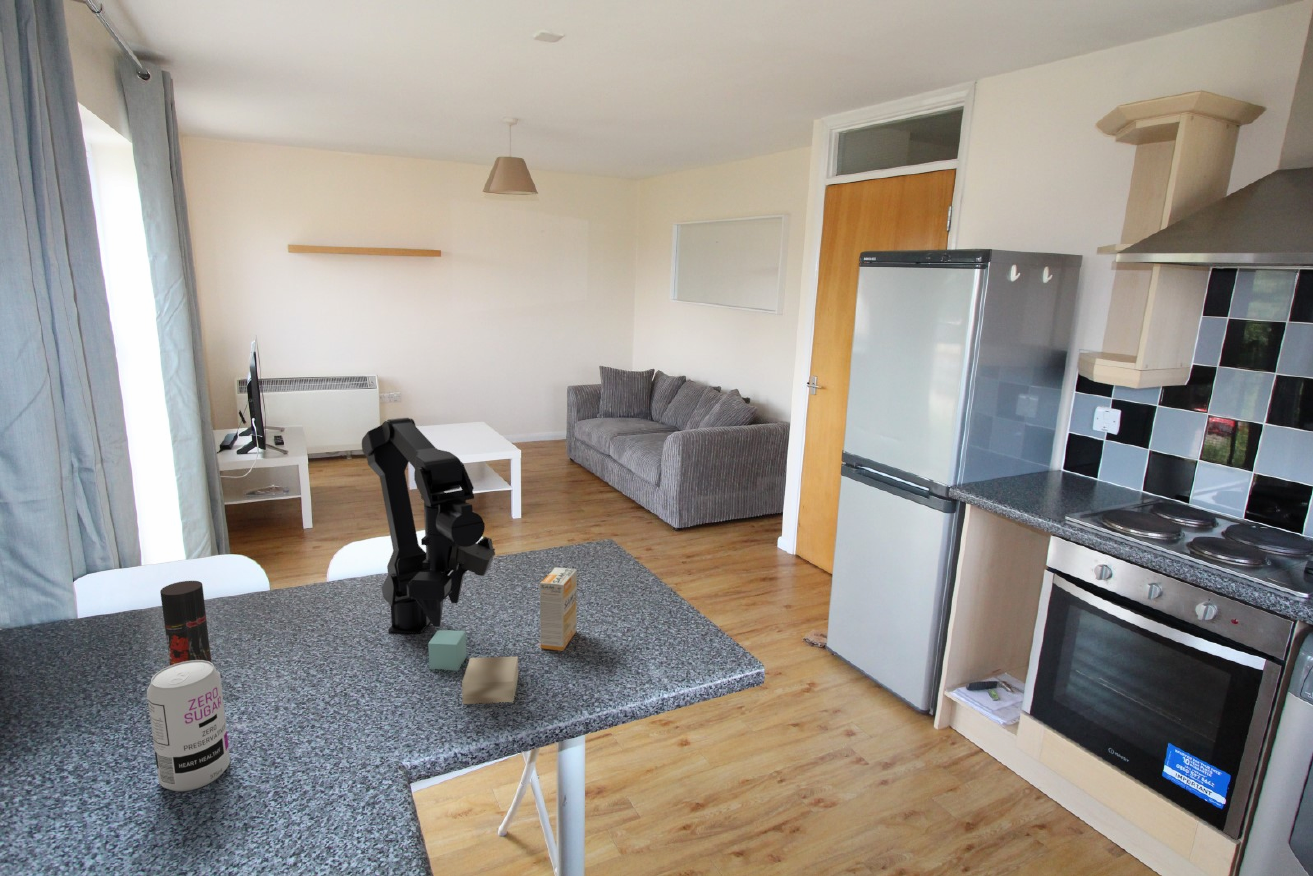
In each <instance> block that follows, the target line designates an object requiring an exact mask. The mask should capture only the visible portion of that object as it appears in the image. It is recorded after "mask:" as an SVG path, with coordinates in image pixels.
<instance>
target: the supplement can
mask: <svg viewBox="0 0 1313 876" xmlns="http://www.w3.org/2000/svg"><path fill="white" fill-rule="evenodd" d="M211 662H212V661H211ZM211 662H209V661H204V660H192V661H186V662H181V663H177V664H174V665H171V666H170V665H168V666H166V667H165V668H162V669H160V670H159V671H157V672H156V673H154V674H153V676H152V678H151V679H150V680H151V682H150V683H149V686H148V687H147V689H146V698H147V705H148V712H149V720H150V726H151V734H152V740H153V747H154V756H155V764H156V769H157V776H158V783H159V785H161V786H162V788H164V789H167V790H168V791H169V790H170V791H173V792H189V791H193V790H196V789H197V790H198V789H200V788H202V787H204V786H207V785H209V784H210V783H213V782H214V781H216V780H217V779H218V778H219V777H221V776H222V774H224V772H225V771H226V770H227V769H228V767H229V765H230V762H231V756H230V748H229V747H230V746H229V740H228V730H227V723H226V714H225V713H226V712H225V704H224V703H225V702H224V697H223V695H224V694H223V686H222V679H221V673H220V672H219V670H218V669H216V667H215V666H214V663H211Z"/></svg>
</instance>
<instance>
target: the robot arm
mask: <svg viewBox="0 0 1313 876" xmlns="http://www.w3.org/2000/svg"><path fill="white" fill-rule="evenodd" d="M361 450H362V452H363V455H364V456H365V457H366V461H367V465H368V467H369V468H371V470H372V471H373V472H374V473H375V474H376V475H377V476H378V478H379V481H380V486H381V491H382V497H383V503H384V507H385V512H386V518H387V524H388V529H389V536H390V540H391V546H392V553H391V556H390V558H389V561H388V564H387V566H386V568H387V576H386V578H385V579H384V581H383V584H382V586H381V590H382V591H381V592H382V597H383V600H385V601H386V602H387V603H388V604H389V605H390V618H391V620H390V621H391V625H390V627H389V628H388V629H387V632H388V633H398V634H399V633H400V634H403V633H404V634H422V632H423V631H425V628H427V626H428V625H429V624H430V623H431V625H432V626H433V627H434V628H440V627H441V624H442V618H443V617H442V616H443V608H444V601H445V599H447V597H448V598H449V600H450V602H451V604H458V603H459V599H460V595H461V591H462V587H463V582H464V578H465V575H466V573H467V571H469V572H471V573H474V574H475V575H477V576H480V577H482V576H485V575H486V573H487V571H488V570H489V569H490V567H491V565H492V562H493V560H494V557H495V555H496V551H495V550H496V549H495V548H494V545H493V540H492V538H489V537H487V536H483V535H484V533H485V529H486V526H485V525H486V524H485V522H484V520H483V518H482V516H481V515H480V514H479V513H478V512H475V511H474V509H473V504H472V503H470V502H467V501H469V500H474V499H475V495H474V492H473V491H474V488H475V487H474V485H473V483H472V480H471V478H470V476H469V473H468V472H467V469H466V468H465V465H464V463H463V462H462V461H461V459H460V458H459V457H457V456H456V455H455V454H454V453H452V452H450V451H447V450H443V449H442V450H441V449H438V448H437V447H436V446H435V445H434V444H433V443H432V442H431V441H430V440H429V439H428V437H426V436H425V435H424V434H423V433H422V432H421V431H420V429H419V428H418V427H417V426H416V423H415V420H414V419H413V418H409V417H399V418H398V417H397V418H391V419H387V420H384V421H383V422H382V424H381V425H379V426H376V427H373V428H372V429H370V430H368V431H367V432H366V433H365V434H364V436H363V437H362V439H361ZM409 464H410V465H411V466H412V467H413V468H414V473H413V474H414V475H413V476H414V478H413V479H414V481H415V485H416V488H417V490H418V491H419V494H420V499H421V500H422V501H423V510H424V511H423V513H424V514H423V516H424V517H423V518H424V533H425V534H424V537H422V538H421V546H420V545H419V541H418V535H417V530H416V524H415V519H414V513H413V508H412V503H411V498H410V493H409V488H408V481H407V477H406V469H407V467H408V465H409ZM460 488H461V489H460ZM459 489H460V490H459ZM422 546H425V550H424V549H423V548H422Z"/></svg>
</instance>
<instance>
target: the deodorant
mask: <svg viewBox="0 0 1313 876" xmlns="http://www.w3.org/2000/svg"><path fill="white" fill-rule="evenodd" d="M203 587H204V586H203V583H202V582H201V581H198V580H183V581H178V582H174V583H171V584H168V585H165V586H164V587H162V588H161V589H160V601H161V608H162V614H163V615H162V616H163V622H164V623H163V624H164V630H165V631H164V632H165V638H166V645H167V652H168V660H169V666H171V665H174V664H177V663H181V662H186V661H192V660H204V661H209V662H212V657H211V656H212V655H211V647H210V637H209V630H208V621H207V613H206V604H205V597H204V596H205V594H204V588H203Z"/></svg>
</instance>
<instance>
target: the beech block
mask: <svg viewBox="0 0 1313 876" xmlns="http://www.w3.org/2000/svg"><path fill="white" fill-rule="evenodd" d="M518 680H519V656H495V657H494V656H493V657H492V656H490V657H489V656H487V657H469V661H468V664H467V666H466V669H465V673H464V676H463V679H462V681H461V691H462V693H461V694H462V704H463V705H470V704H472V705H476V703H478V704H479V703H482V704H505V702H512V703H514V702H515V697H514V696H516V691H517V686H518V682H519V681H518ZM513 701H514V702H513ZM492 702H493V703H492ZM499 702H501V703H499ZM502 702H504V703H502ZM478 704H477V705H478Z"/></svg>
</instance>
